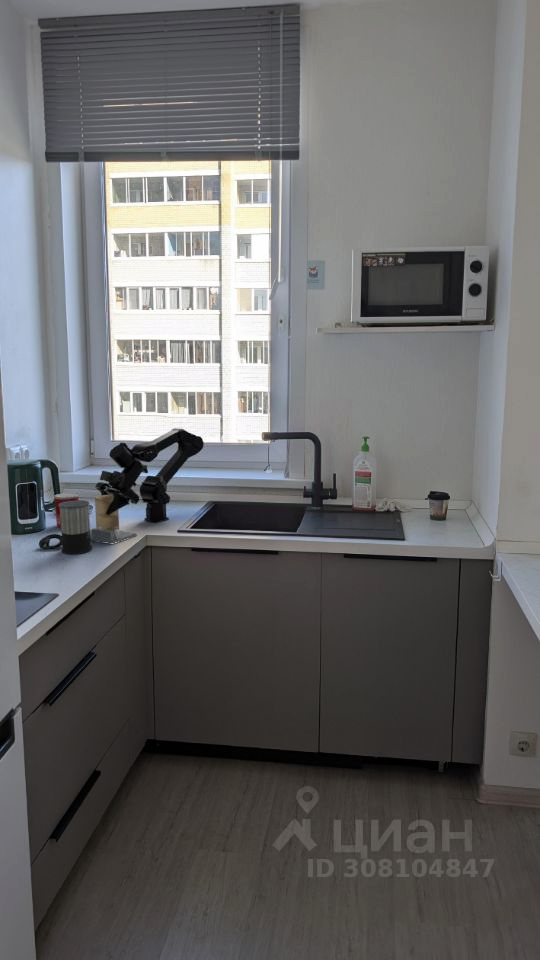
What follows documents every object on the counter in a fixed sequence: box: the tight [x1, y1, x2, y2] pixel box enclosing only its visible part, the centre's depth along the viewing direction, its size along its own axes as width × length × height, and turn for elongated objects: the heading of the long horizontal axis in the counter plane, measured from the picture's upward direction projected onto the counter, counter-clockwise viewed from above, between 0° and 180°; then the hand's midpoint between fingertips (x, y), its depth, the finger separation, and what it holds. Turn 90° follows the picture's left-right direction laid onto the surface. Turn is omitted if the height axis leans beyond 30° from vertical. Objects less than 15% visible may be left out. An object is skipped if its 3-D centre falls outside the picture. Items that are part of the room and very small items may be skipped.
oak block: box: [94, 494, 120, 531], centre depth 249 cm, size 6×4×12 cm
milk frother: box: [38, 499, 93, 555], centre depth 228 cm, size 14×16×15 cm
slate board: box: [91, 526, 137, 543], centre depth 241 cm, size 12×9×4 cm
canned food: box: [54, 492, 79, 529], centre depth 258 cm, size 8×8×11 cm
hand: (102, 513), depth 248 cm, fingers closed on oak block, 5 cm apart
